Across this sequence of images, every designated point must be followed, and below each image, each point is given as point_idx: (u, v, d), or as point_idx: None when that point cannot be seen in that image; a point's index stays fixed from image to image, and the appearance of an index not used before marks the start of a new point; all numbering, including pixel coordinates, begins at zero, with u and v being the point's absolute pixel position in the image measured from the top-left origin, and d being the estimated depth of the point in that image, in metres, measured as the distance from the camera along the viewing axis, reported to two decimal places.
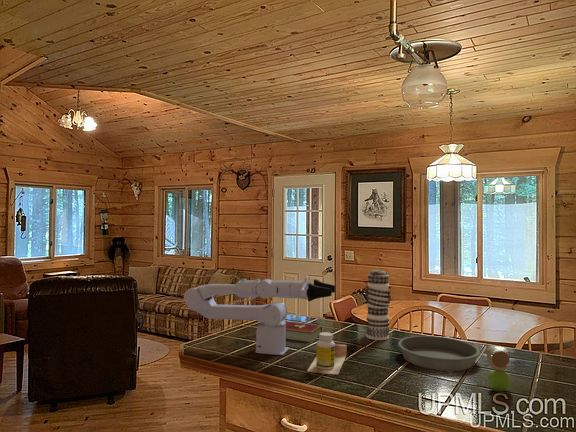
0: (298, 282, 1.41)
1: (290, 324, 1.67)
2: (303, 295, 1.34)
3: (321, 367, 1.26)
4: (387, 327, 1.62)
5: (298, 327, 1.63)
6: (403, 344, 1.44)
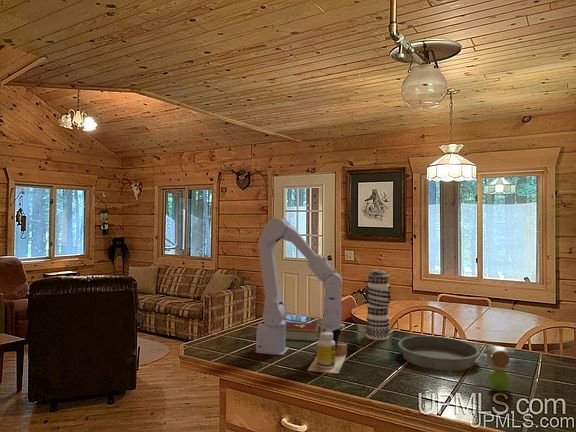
0: (339, 319, 1.39)
1: (289, 324, 1.67)
2: None
3: (322, 366, 1.27)
4: (387, 327, 1.62)
5: (299, 327, 1.63)
6: (403, 344, 1.44)
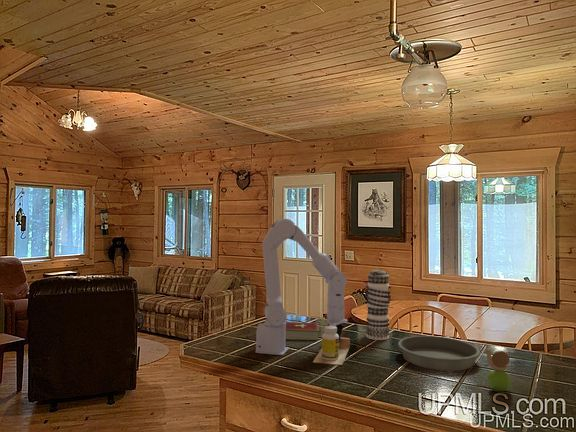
0: (342, 314, 1.46)
1: (288, 324, 1.66)
2: None
3: (326, 358, 1.34)
4: (387, 327, 1.62)
5: (300, 327, 1.63)
6: (403, 344, 1.44)
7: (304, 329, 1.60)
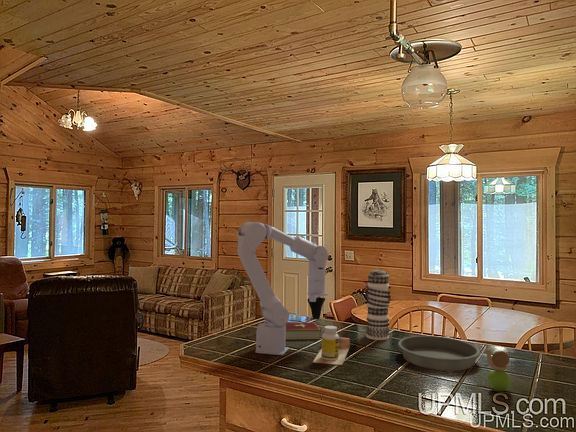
0: (323, 287, 1.49)
1: (287, 325, 1.66)
2: (310, 298, 1.44)
3: (326, 358, 1.34)
4: (387, 327, 1.62)
5: (300, 326, 1.64)
6: (403, 344, 1.44)
7: (306, 329, 1.60)
